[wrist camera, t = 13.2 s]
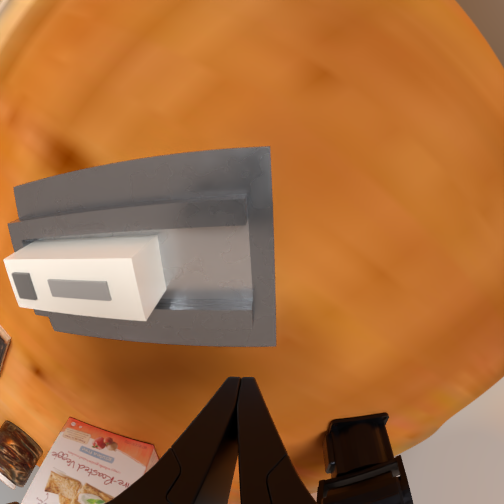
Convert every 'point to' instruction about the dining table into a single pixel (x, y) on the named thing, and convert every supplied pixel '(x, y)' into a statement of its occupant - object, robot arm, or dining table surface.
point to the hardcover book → (3, 344)
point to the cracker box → (89, 466)
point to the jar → (16, 455)
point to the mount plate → (172, 241)
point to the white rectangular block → (90, 276)
